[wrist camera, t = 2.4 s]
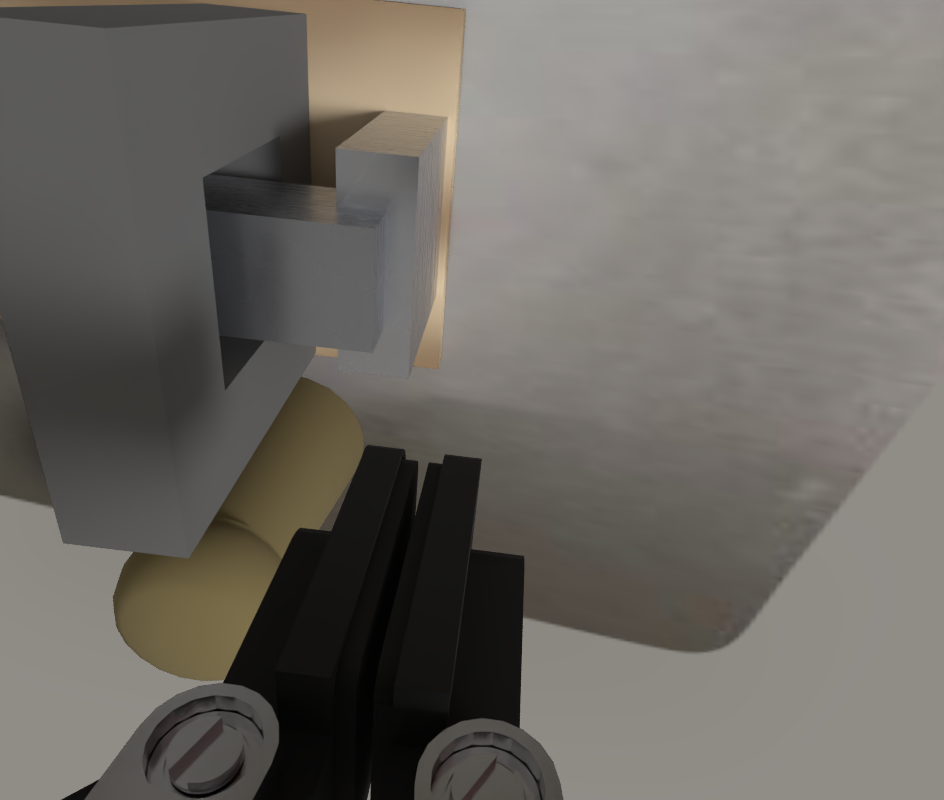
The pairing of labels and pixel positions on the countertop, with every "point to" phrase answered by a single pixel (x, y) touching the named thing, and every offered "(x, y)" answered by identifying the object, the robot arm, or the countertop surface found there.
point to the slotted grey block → (140, 253)
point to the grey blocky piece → (337, 248)
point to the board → (368, 89)
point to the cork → (240, 541)
